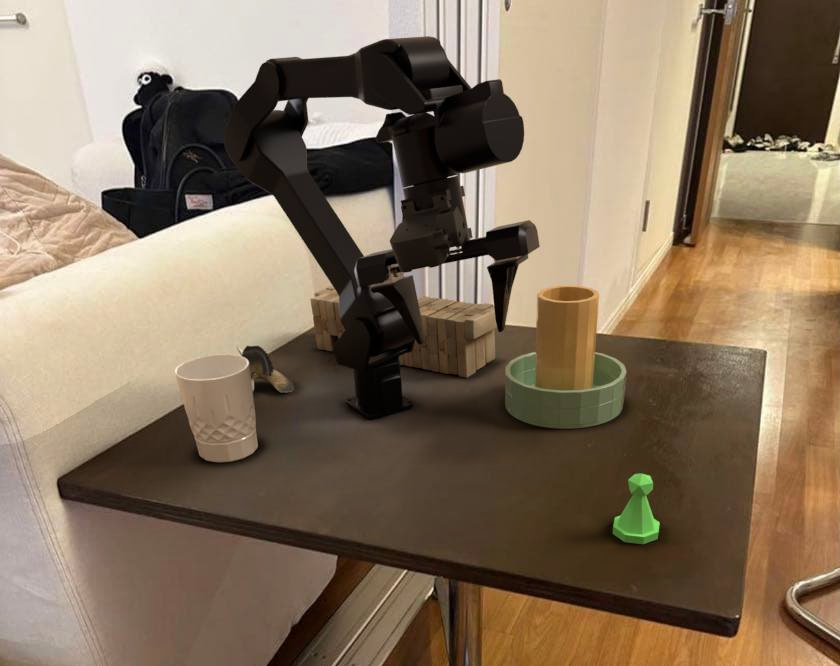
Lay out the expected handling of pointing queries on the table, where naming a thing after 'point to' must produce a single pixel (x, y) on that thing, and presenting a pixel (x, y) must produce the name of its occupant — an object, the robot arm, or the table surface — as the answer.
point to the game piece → (637, 514)
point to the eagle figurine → (265, 369)
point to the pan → (565, 395)
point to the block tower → (426, 333)
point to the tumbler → (566, 337)
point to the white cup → (219, 405)
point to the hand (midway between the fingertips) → (460, 337)
